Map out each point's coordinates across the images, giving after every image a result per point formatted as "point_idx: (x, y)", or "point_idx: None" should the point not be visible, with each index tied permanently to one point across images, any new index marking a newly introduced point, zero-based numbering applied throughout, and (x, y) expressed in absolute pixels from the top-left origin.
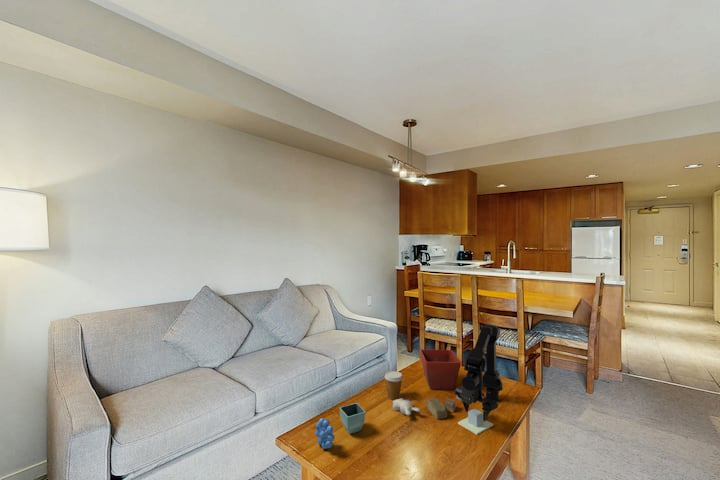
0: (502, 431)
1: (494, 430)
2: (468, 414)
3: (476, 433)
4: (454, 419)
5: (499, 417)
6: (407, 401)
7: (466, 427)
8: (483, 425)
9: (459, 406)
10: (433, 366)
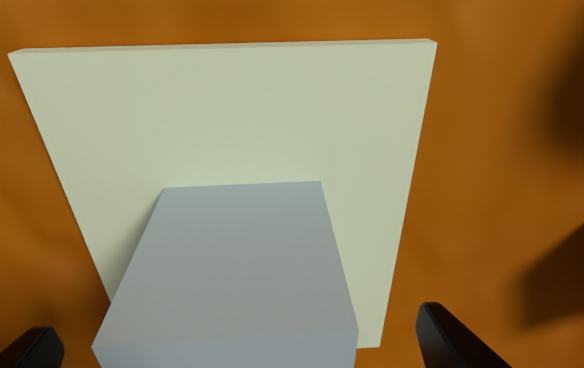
0: None
1: (54, 304)
2: (334, 274)
3: (21, 51)
4: (521, 92)
5: None
6: None
7: (242, 47)
8: None
9: (569, 333)
10: None
